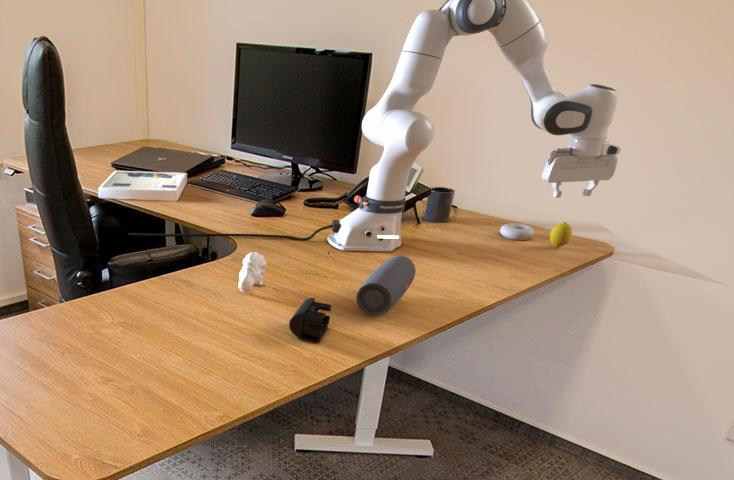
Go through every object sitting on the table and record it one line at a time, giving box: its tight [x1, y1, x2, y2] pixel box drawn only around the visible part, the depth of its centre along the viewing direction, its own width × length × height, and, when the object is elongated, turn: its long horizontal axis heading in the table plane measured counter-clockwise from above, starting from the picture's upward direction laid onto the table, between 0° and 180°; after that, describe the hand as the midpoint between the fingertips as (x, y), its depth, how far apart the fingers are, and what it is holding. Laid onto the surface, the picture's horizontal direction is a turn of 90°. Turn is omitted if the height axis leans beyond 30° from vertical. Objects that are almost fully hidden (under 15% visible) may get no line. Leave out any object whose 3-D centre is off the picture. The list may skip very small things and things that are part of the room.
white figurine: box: [237, 251, 268, 295], centre depth 180 cm, size 6×8×12 cm
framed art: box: [97, 170, 188, 202], centre depth 273 cm, size 30×4×30 cm
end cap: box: [288, 297, 332, 344], centre depth 156 cm, size 10×7×7 cm
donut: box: [499, 222, 536, 241], centre depth 218 cm, size 10×4×10 cm
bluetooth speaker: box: [355, 255, 416, 317], centre depth 169 cm, size 23×9×10 cm, turn 148°
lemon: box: [549, 221, 573, 249], centre depth 207 cm, size 6×6×8 cm
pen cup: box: [423, 186, 456, 224], centre depth 234 cm, size 8×8×10 cm
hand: (571, 196), depth 202 cm, fingers open, 8 cm apart
